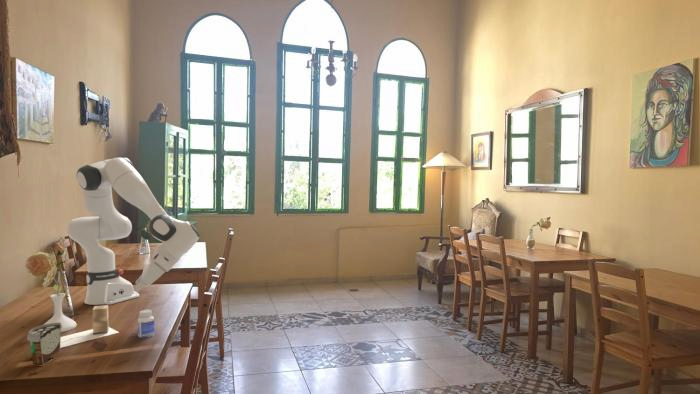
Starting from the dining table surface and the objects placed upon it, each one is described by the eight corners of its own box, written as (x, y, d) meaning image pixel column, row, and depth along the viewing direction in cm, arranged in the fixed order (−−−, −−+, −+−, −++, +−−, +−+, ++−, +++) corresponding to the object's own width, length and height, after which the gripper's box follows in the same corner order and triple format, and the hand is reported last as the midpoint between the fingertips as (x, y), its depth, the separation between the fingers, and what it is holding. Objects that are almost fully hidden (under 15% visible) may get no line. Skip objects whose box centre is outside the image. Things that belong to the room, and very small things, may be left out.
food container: (42, 352, 147) (41, 322, 146) (62, 351, 148) (61, 321, 147) (18, 368, 135) (17, 335, 134) (40, 368, 135) (38, 335, 135)
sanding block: (108, 329, 166) (108, 304, 165) (107, 333, 161) (106, 308, 161) (94, 330, 164) (94, 306, 163) (93, 334, 160) (92, 309, 159)
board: (106, 328, 169) (106, 325, 169) (119, 335, 162) (119, 332, 162) (44, 344, 154) (44, 340, 154) (56, 352, 147) (56, 348, 147)
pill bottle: (158, 336, 161) (157, 309, 161) (146, 341, 156) (146, 314, 156) (146, 334, 163) (145, 308, 163) (134, 339, 158) (133, 312, 158)
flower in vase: (44, 329, 169) (41, 263, 168) (79, 324, 174) (77, 260, 172) (35, 340, 157) (33, 270, 156) (73, 336, 162) (71, 267, 160)
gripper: (157, 249, 178) (131, 275, 175) (157, 257, 159) (127, 287, 156) (170, 259, 180) (143, 286, 177) (170, 269, 161) (141, 299, 158)
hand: (135, 287), depth 166 cm, fingers open, 8 cm apart
